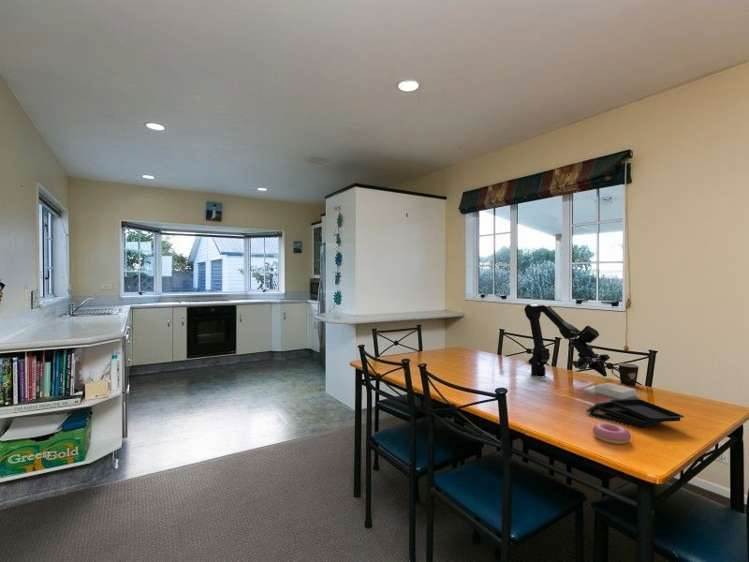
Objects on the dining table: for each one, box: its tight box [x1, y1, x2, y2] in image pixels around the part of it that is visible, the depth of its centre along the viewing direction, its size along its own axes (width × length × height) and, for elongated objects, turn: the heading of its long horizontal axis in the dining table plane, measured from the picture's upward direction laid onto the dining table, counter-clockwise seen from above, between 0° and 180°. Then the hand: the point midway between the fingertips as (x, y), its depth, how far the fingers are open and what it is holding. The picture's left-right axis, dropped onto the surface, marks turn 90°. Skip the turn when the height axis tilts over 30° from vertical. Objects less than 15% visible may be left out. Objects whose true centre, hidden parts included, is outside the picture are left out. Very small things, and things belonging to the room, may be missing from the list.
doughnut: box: [592, 422, 632, 445], centre depth 127 cm, size 11×11×4 cm
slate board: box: [582, 387, 643, 400], centre depth 173 cm, size 18×16×1 cm
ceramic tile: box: [594, 382, 637, 399], centre depth 172 cm, size 3×11×12 cm
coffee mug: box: [611, 362, 640, 387], centre depth 192 cm, size 12×9×10 cm
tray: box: [586, 398, 685, 430], centre depth 145 cm, size 30×23×5 cm
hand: (605, 376), depth 176 cm, fingers closed
